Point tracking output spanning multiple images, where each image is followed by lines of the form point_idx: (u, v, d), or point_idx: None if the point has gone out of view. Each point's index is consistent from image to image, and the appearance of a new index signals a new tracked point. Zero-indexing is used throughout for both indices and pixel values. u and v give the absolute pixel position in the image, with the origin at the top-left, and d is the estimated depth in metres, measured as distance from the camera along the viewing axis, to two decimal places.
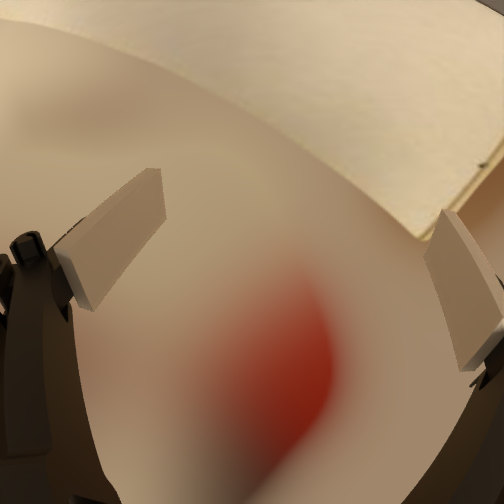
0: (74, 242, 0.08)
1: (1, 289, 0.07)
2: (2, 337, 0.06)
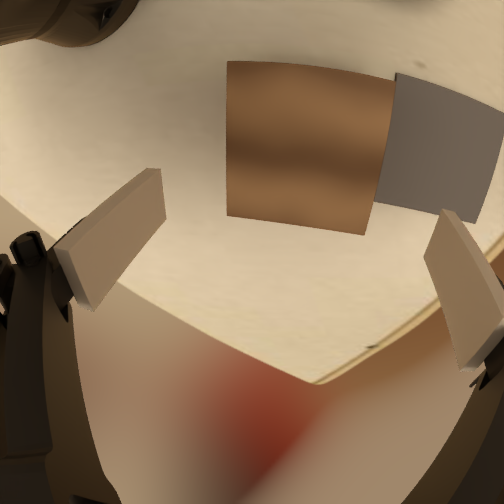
0: (74, 242, 0.08)
1: (1, 289, 0.07)
2: (2, 337, 0.06)
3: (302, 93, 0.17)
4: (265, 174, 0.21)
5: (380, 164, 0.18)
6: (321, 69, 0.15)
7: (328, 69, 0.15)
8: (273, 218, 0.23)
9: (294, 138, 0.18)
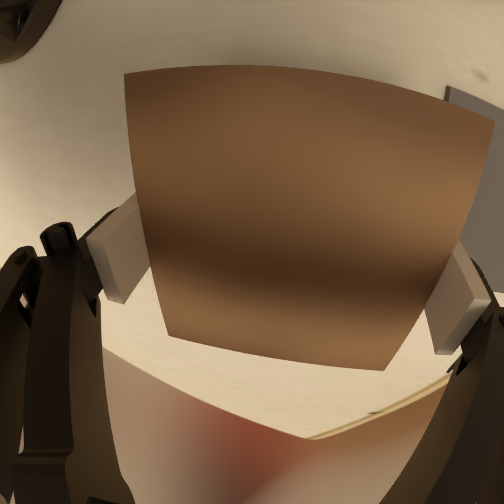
0: (108, 233, 0.08)
1: (25, 283, 0.07)
2: (23, 332, 0.06)
3: (288, 138, 0.07)
4: (218, 293, 0.11)
5: (435, 282, 0.09)
6: (336, 79, 0.06)
7: (353, 80, 0.06)
8: (239, 348, 0.13)
9: (270, 235, 0.09)
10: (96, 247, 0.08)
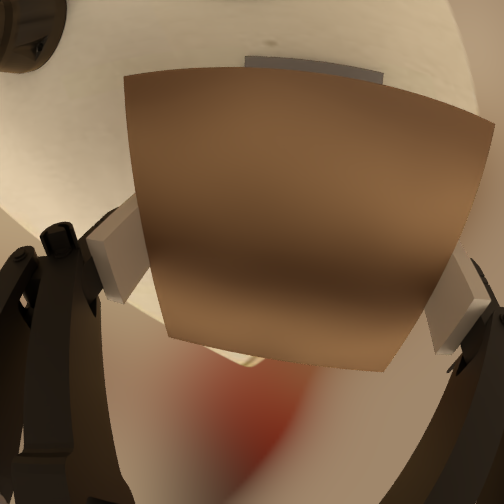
0: (108, 233, 0.08)
1: (25, 283, 0.07)
2: (23, 332, 0.06)
3: (288, 141, 0.07)
4: (218, 294, 0.11)
5: (434, 284, 0.09)
6: (336, 82, 0.06)
7: (353, 82, 0.06)
8: (239, 349, 0.13)
9: (270, 238, 0.09)
10: (96, 247, 0.08)
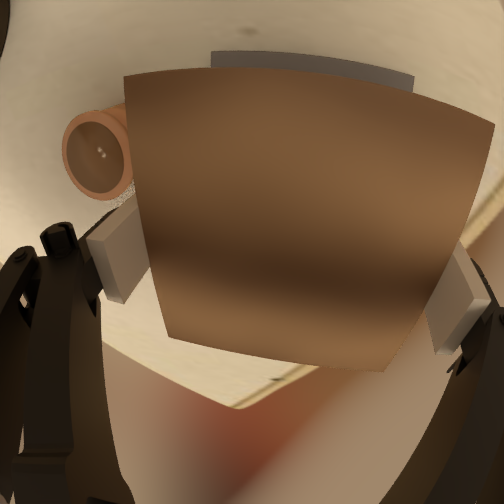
0: (108, 233, 0.08)
1: (25, 283, 0.07)
2: (23, 333, 0.06)
3: (287, 141, 0.07)
4: (218, 295, 0.11)
5: (434, 284, 0.09)
6: (336, 82, 0.06)
7: (353, 83, 0.06)
8: (239, 349, 0.13)
9: (270, 238, 0.09)
10: (96, 247, 0.08)
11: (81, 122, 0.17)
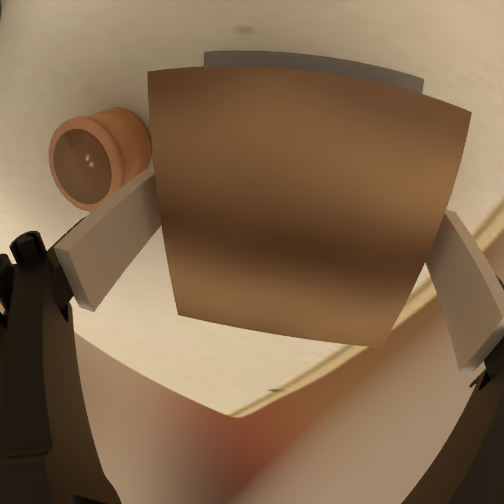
0: (74, 242, 0.08)
1: (1, 289, 0.07)
2: (2, 337, 0.06)
3: (291, 128, 0.09)
4: (227, 269, 0.13)
5: (424, 258, 0.10)
6: (331, 79, 0.07)
7: (345, 79, 0.07)
8: (245, 325, 0.15)
9: (275, 214, 0.11)
10: (63, 256, 0.08)
11: (66, 130, 0.16)
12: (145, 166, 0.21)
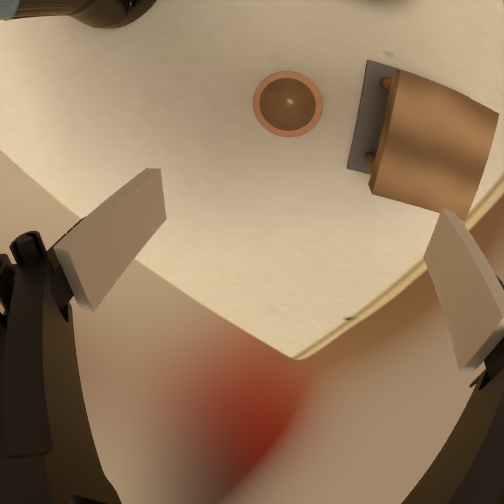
0: (74, 242, 0.08)
1: (1, 289, 0.07)
2: (2, 337, 0.06)
3: (446, 109, 0.19)
4: (411, 164, 0.23)
5: (483, 169, 0.20)
6: (459, 95, 0.18)
7: (463, 96, 0.17)
8: (408, 200, 0.25)
9: (436, 140, 0.21)
10: (63, 256, 0.08)
11: (283, 77, 0.25)
12: None
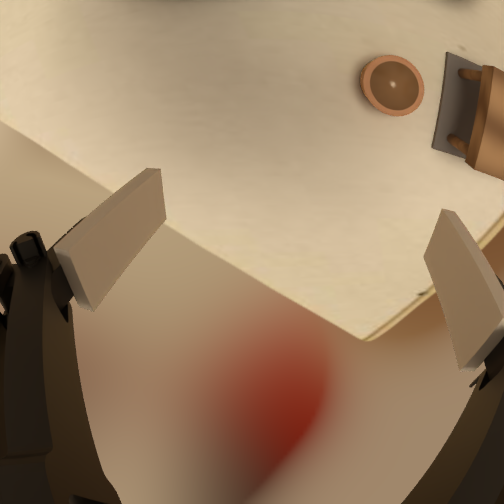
0: (74, 242, 0.08)
1: (1, 289, 0.07)
2: (2, 337, 0.06)
3: None
4: (501, 144, 0.20)
5: None
6: None
7: None
8: (498, 175, 0.22)
9: None
10: (63, 256, 0.08)
11: (391, 60, 0.23)
12: None
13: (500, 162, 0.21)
